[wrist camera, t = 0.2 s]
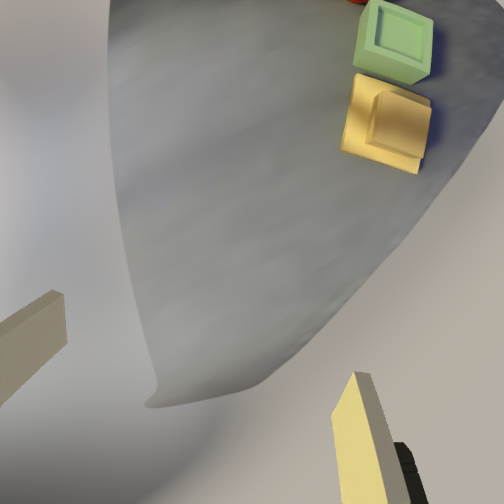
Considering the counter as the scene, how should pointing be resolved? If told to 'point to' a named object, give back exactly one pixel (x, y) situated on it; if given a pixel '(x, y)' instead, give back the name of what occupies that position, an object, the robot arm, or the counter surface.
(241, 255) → the counter surface
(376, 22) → the cup block
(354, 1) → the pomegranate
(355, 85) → the plate
